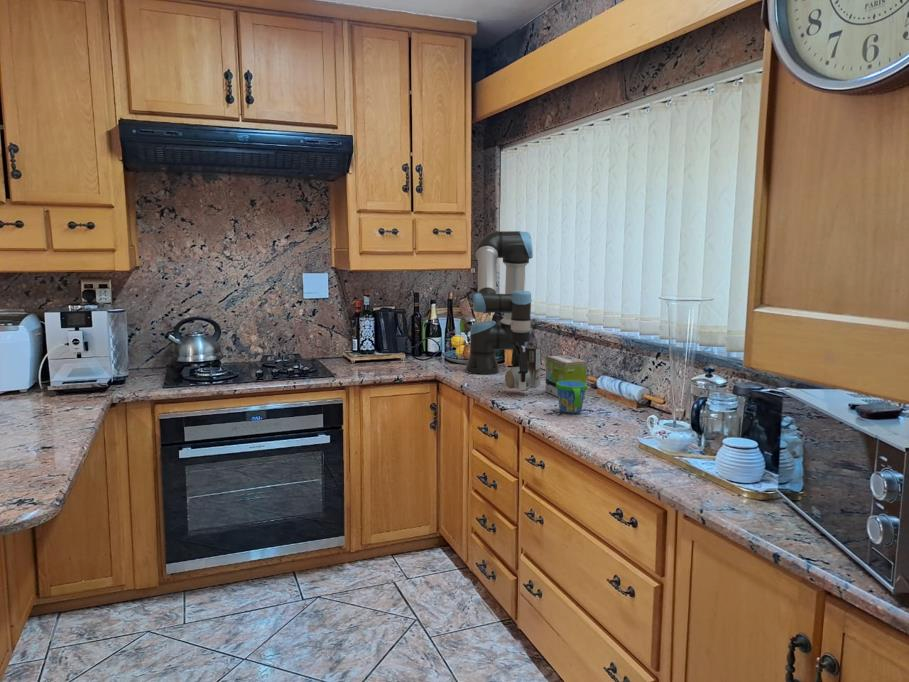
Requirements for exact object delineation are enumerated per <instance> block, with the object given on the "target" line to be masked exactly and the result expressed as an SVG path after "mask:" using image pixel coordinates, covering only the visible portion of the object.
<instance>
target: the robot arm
mask: <svg viewBox="0 0 909 682" xmlns="http://www.w3.org/2000/svg"><path fill="white" fill-rule="evenodd" d="M533 253H534V252H533V244H532V235H531V234H530V233H529V231H520V230H519V231H518V230H517V231H515V230H513V231H512V230H511V231H510V230H509V231H508V230H507V231H503V230H502V231H499V230H494V231H491V232H489V233H487V234H485V236H483V237H482V238H480V241H479V242H478V243H477V245H476V247H475V259H476V260H477V293H474V294H473V295H472V296H473V297H472V298H473V299H472V301H473V303H472V305H473V306H472V309H473V311H474V312H475V313H483V314H484V313H489V314H490V313H492V314H493V313H496V314H497V313H499V314H500V313H501V314H502V313H504V314H503V315H504V316H503V318H502V319H500V323H497V322H496V321H495V320H485V321H478V322H474V323H472V324H471V326H470V332H469V335H470V339H469V340H470V343H469V344H470V346H469V357H468V359H467V363H466V366H465V371H468V372H471V373H470V374H473V373H480V374H479V375H494V374H493V373H495V374H498V373H499V364H498V360H497V357H496V350H503V351H504V350H510V351H511V350H512V352H511V353H512V355H511V361H510V364H511V366H512V369H511V370H514V369H520V371H519V372H518V374H519V390H518V391H520V390H526V388H527V387H526V373H528V362H527V347H526V346H527V345H528V343H529V342H530V341H531V332H530V331H531V311H532V310H531V309H532V293H531V291H529V290H525V285H526V284H525V280H526V266H527V265H528V264H529V263H530V260H531V259H533V256H534V255H533ZM498 258H500V259H502V263H503V264H504V265H505V284H504V285H505V287H504V289H505V290H504V293H497V266H496V263H497V259H498ZM523 369H524V370H523ZM468 372H467V373H468Z"/></svg>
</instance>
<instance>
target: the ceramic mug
mask: <svg viewBox="0 0 909 682" xmlns="http://www.w3.org/2000/svg"><path fill="white" fill-rule="evenodd" d="M523 370H524V369H523ZM519 371H520V369H514V370H512V369H510V370H507V371H506V372H505V374H504V381H505V385H506V387H508V388H509V389H516V390H517V391H521V392H528V391H529V390H530V382H531V377H530V373H529V371H528V373H526V390H519V374H518V372H519Z"/></svg>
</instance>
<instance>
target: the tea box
mask: <svg viewBox="0 0 909 682" xmlns="http://www.w3.org/2000/svg"><path fill="white" fill-rule="evenodd" d="M545 358H546V359H545V360H546V361H545V364H546V365H545V366H546V367H545V392H546V393H549V394H551V395H553V396H555V397H557V398H558V390H557V387H556V383H557V382H559V381H579V382H583V383H586V384H587V364H588V363H587V361H586V360H583V359H580V358H577V357H574V356H572V355H571V356H570V355H569V354H566V355H552V356H551V355H550V356H548V355H547V356H546V357H545ZM586 390H587V389H586ZM586 390H585V395H584V399H585V398H586V394H587V393H586V392H587V391H586Z"/></svg>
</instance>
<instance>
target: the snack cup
mask: <svg viewBox="0 0 909 682" xmlns="http://www.w3.org/2000/svg"><path fill="white" fill-rule="evenodd" d="M556 387H557V390H558V397H557V399H558V406H559V407H558V408H559V411H560V412H562V413H563V414H569V415H575V413H577V414H580V413H582V409H583V404H584V399H585V398H584V395H585V396H586V394H585V390H587V389H588V385H587V382H586V383H583V382H579V381H559V382H557V383H556Z"/></svg>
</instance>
